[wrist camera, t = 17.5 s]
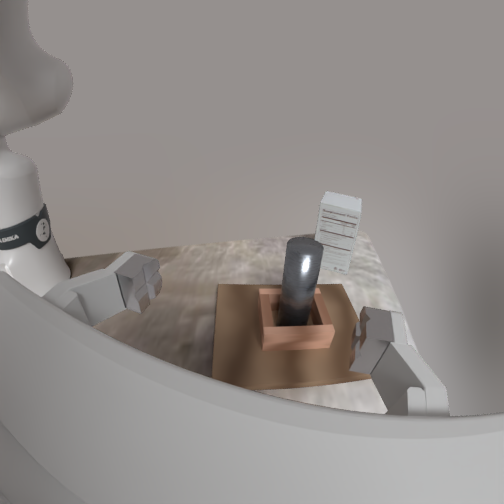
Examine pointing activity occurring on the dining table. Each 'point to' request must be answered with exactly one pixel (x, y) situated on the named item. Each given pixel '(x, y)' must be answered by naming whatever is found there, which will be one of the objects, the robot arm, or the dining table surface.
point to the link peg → (299, 281)
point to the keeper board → (282, 339)
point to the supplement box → (338, 230)
